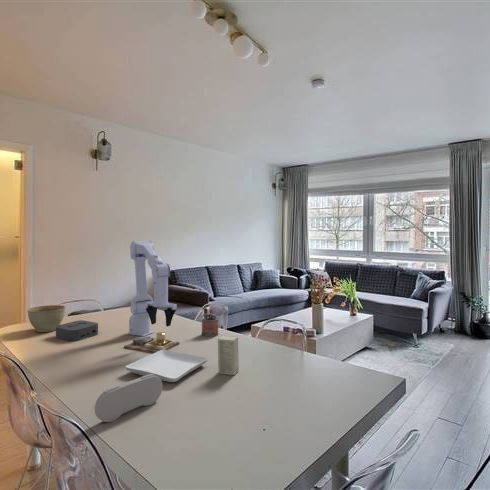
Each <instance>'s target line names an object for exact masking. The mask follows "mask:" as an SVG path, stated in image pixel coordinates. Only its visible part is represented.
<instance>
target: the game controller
mask: <svg viewBox="0 0 490 490" xmlns="http://www.w3.org/2000/svg"><path fill="white" fill-rule="evenodd" d="M162 381H163V380H161V379H160V378H159V377H157V376H155V375H154V374H149V375H145V376H142V375H141V376H140V377H137V378H134V379H132V380H129V381H126V382H124V383H121V384H118V385H115V386H111V387H109V388H107V389H105V390H104V391H103V392H102V393H101V394H100V395H99V396H98V398H97V399H96V401H95V404H94V414H95V416H96V418H97V419H99V420H100V421H101V422H104V423H111V422H114V421H116V420H117V419H119V418H120V417H121V416H122V415H123V414H124V413H127V412H129V411H131V410H134V409H136V408H139V407H142V406H145V407H148V405H149V406H152V405H153V404H155V403H156V402H157V401H158V400H159V398H160V397H161V395H162V392H163V382H162Z"/></svg>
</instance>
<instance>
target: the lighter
mask: <svg viewBox="0 0 490 490" xmlns="http://www.w3.org/2000/svg"><path fill="white" fill-rule="evenodd" d="M202 317H203V318H201V335H202V336H206V337H207V336H209V337H210V336H211V337H215V336H216V337H217V336H219V319H218V318H217V314H213V313H203V314H202Z"/></svg>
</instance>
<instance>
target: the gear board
mask: <svg viewBox="0 0 490 490" xmlns="http://www.w3.org/2000/svg"><path fill="white" fill-rule="evenodd" d="M165 340H166V341H168V344H166V345H164V346H157V345H154V342H155V341H157V337H156V338H155V337H151V336H150V335H149V336H148V335H147V336H139V337H135V338H134V339H132V342H130V343H128V344H125V345H124V346H123V348H124V349H129V350H135V351H138V352H139V351H141V352H146V353H150V354H153V353H156V352H158V351H160V350H170V349H172V348H174V347H176V346H178V345H180V342H179V341H177V340H173V339H166V338H165Z"/></svg>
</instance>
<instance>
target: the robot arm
mask: <svg viewBox="0 0 490 490" xmlns="http://www.w3.org/2000/svg"><path fill="white" fill-rule="evenodd" d="M129 250H130V259H131V260H133V261H134V270H135V271H134V272H135V288H136V294H135V295H134V296H133V297H132V298H131V300H130V312H131V315H130V317H129V319H128V321H129V322H128V331H129V332H127V334H128V335H134V336H139V337H142V336H144V337H147V336H148V335H151V334H152V333H153V334H154V333H155V330H151V325H155V324H156V323H157V312H158V308H159V309H164V310H163V313H164V316H165V327H170V326H171V324H172V320H173V317H174V315H175V313H176V311H177V309H178V304H177V303H172V302H169V278H170V276H171V266H170V264H169V263H164V261H163V260H162V258H161V256H159V254H156V253H155V244H154V242H153V240H148V241H147V240H141V241H140V240H138V241H137V240H132V241H131V243H130V247H129ZM146 261H147V264H148V266H149V268H150V269H151V276H152V282H153V297H152V296H151V295H150V294H148V285H147V270H146Z"/></svg>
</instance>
